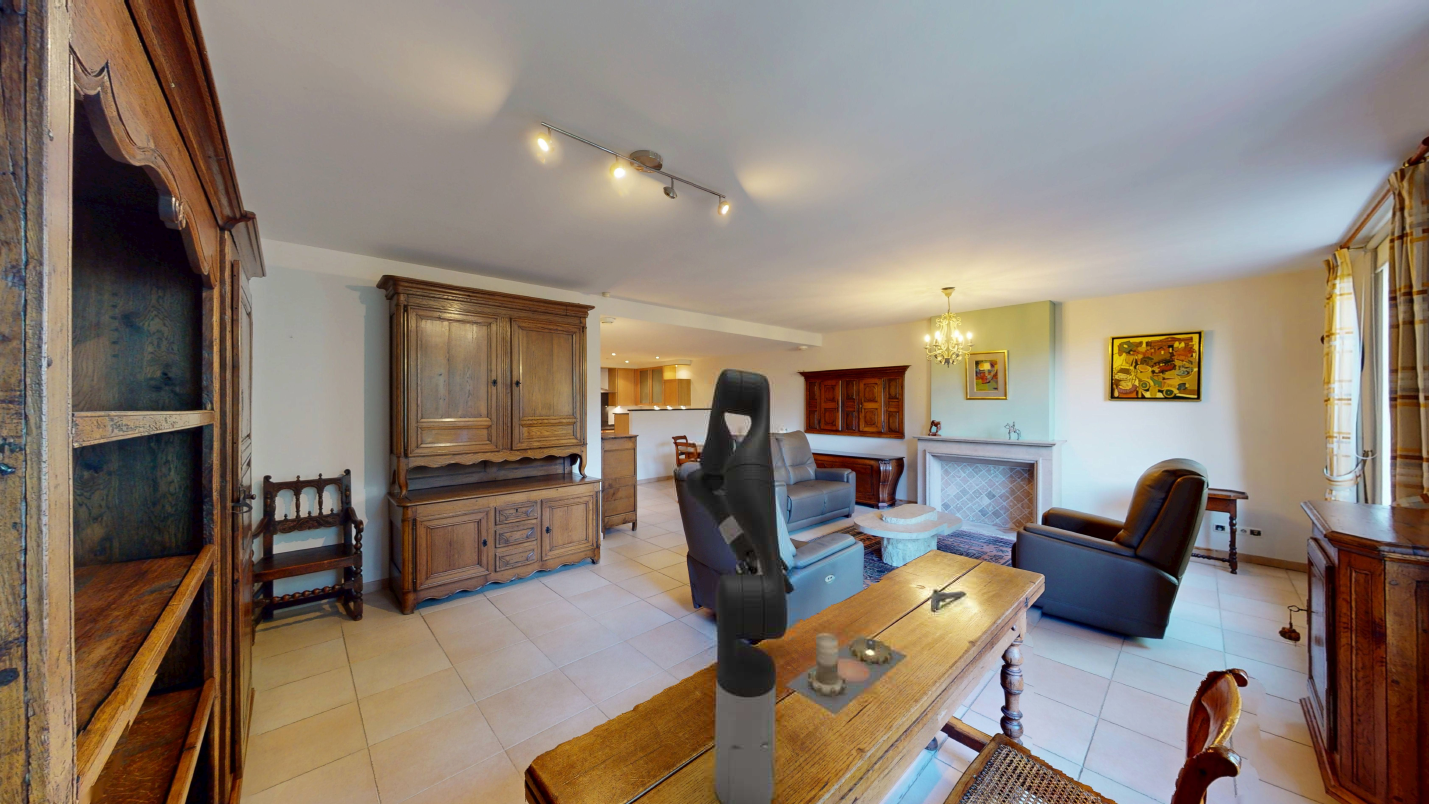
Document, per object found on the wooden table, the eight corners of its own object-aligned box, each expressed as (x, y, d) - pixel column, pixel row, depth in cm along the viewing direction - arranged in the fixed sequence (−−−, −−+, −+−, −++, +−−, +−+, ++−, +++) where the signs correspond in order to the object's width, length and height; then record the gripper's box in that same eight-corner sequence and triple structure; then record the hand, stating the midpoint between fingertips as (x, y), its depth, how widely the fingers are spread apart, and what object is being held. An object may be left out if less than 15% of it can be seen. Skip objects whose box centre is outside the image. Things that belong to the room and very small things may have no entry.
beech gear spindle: (852, 697, 94) (853, 647, 94) (814, 700, 93) (815, 649, 93) (836, 674, 102) (837, 628, 102) (802, 676, 101) (802, 630, 100)
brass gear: (900, 664, 106) (900, 651, 106) (860, 667, 104) (860, 653, 104) (879, 642, 115) (880, 630, 115) (843, 644, 114) (843, 632, 114)
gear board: (835, 722, 89) (835, 714, 89) (784, 692, 98) (785, 684, 98) (907, 662, 109) (907, 655, 109) (860, 641, 118) (860, 635, 118)
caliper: (934, 613, 135) (934, 591, 135) (930, 611, 136) (931, 590, 136) (966, 595, 148) (967, 575, 148) (963, 594, 149) (963, 574, 148)
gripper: (730, 533, 105) (772, 600, 98) (768, 521, 116) (808, 580, 108) (712, 551, 109) (751, 617, 101) (750, 538, 119) (787, 596, 112)
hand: (780, 598), depth 105 cm, fingers open, 8 cm apart
